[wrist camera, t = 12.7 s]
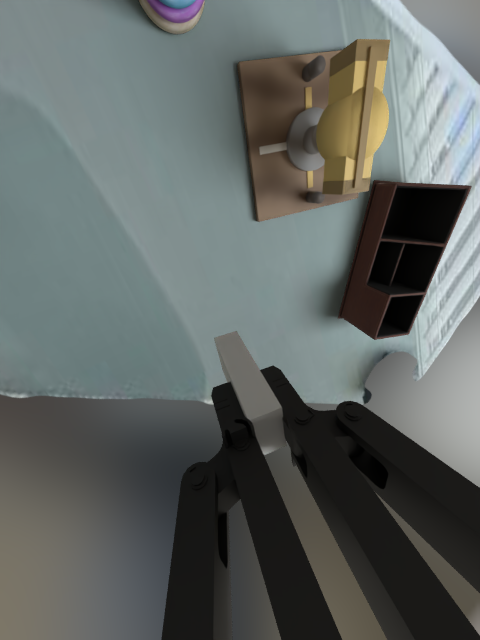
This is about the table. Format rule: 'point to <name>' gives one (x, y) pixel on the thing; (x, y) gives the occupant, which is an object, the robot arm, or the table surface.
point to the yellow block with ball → (353, 116)
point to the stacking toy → (174, 14)
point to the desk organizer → (399, 254)
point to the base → (286, 132)
